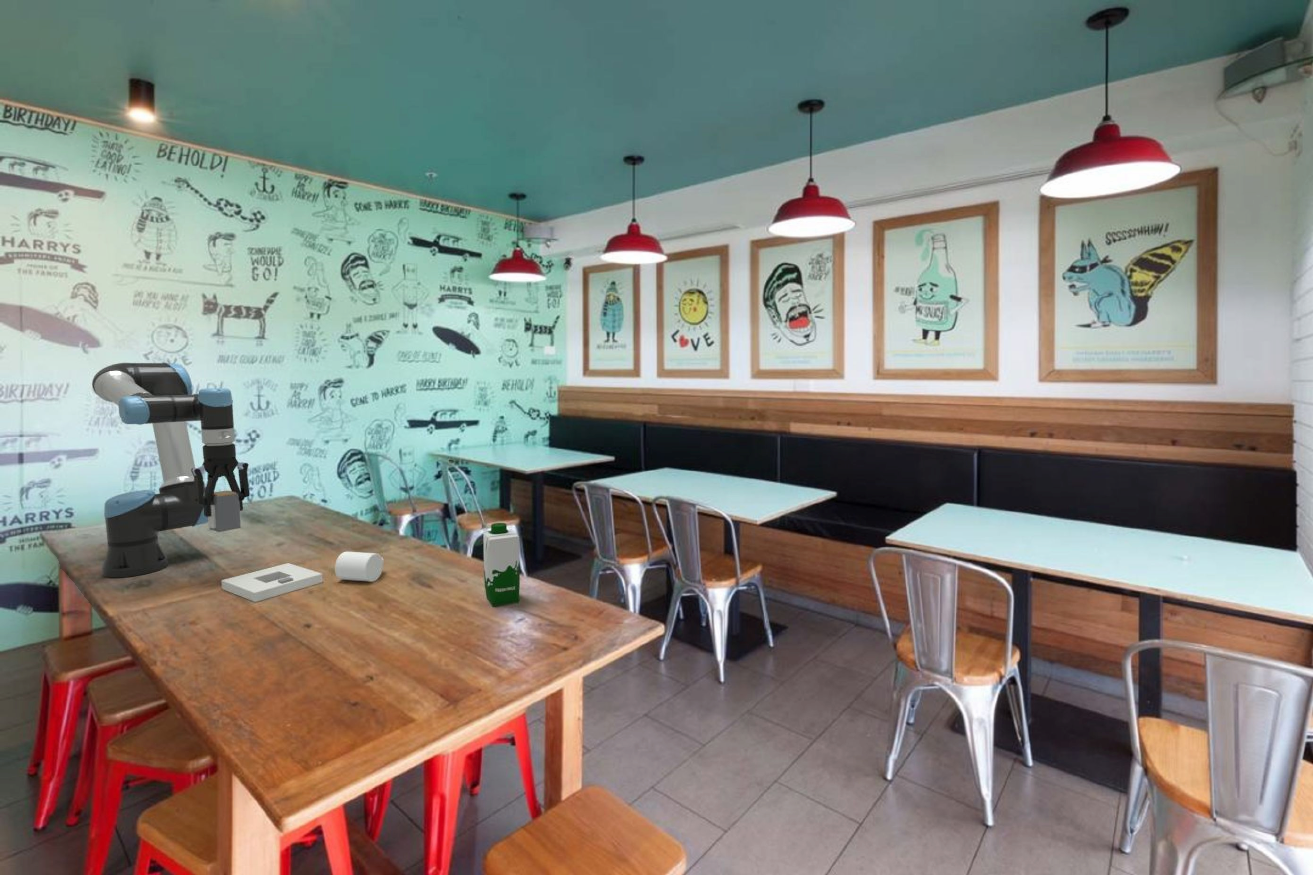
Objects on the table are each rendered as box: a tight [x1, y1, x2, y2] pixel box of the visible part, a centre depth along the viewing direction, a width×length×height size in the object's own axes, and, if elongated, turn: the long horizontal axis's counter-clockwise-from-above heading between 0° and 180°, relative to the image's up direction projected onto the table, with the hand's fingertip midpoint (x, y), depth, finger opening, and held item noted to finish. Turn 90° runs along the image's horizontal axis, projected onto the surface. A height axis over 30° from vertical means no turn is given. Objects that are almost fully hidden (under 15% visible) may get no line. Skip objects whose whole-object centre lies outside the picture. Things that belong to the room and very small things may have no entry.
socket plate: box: [221, 562, 323, 603], centre depth 176 cm, size 18×18×3 cm
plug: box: [209, 489, 242, 533], centre depth 177 cm, size 6×6×10 cm
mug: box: [334, 551, 385, 583], centre depth 183 cm, size 12×10×8 cm
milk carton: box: [483, 522, 521, 608], centre depth 164 cm, size 9×9×20 cm
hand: (224, 524), depth 177 cm, fingers closed on plug, 5 cm apart
